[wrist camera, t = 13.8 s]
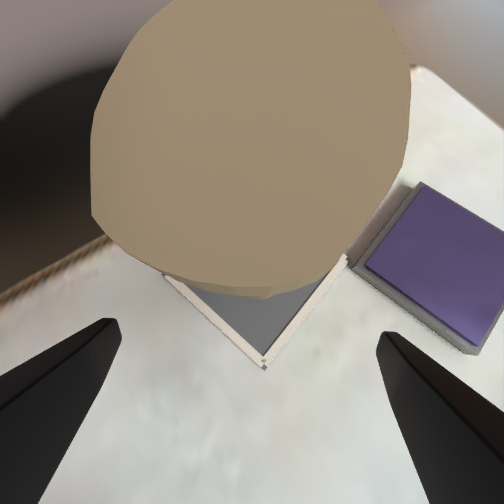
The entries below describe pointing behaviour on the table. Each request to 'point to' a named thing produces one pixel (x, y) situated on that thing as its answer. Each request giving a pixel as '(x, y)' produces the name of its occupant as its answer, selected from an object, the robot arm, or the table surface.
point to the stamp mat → (260, 314)
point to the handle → (250, 139)
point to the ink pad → (440, 267)
